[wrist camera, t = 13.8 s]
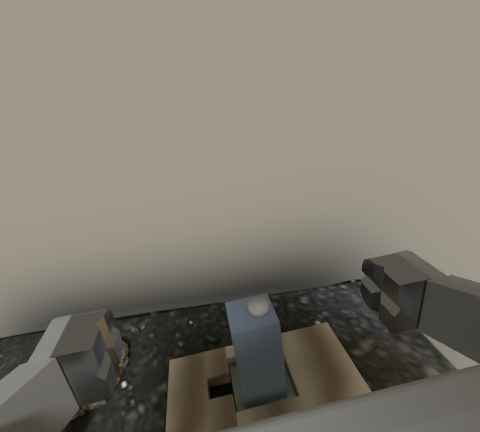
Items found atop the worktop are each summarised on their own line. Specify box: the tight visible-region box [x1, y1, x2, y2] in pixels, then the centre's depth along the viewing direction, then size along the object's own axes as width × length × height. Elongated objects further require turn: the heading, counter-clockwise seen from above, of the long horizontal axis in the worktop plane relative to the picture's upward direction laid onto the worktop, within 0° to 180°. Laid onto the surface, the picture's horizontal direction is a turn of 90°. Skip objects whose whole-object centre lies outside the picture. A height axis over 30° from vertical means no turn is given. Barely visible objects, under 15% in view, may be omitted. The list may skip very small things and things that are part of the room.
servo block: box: [225, 293, 287, 409], centre depth 30 cm, size 4×4×11 cm
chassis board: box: [166, 322, 371, 432], centre depth 32 cm, size 20×10×2 cm, turn 100°
